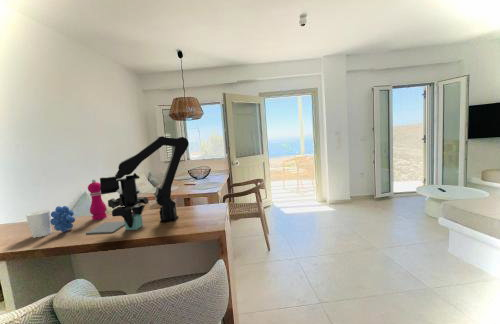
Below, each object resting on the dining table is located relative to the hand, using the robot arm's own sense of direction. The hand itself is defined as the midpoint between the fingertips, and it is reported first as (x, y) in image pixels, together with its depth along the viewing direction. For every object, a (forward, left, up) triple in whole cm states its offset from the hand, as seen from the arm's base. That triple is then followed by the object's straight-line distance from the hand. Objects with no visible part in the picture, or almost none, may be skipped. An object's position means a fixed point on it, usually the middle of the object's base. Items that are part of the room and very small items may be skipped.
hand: (134, 225), depth 108 cm
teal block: (0, 0, -1) cm, 1 cm away
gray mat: (+13, -1, -1) cm, 13 cm away
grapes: (+31, +1, -1) cm, 31 cm away
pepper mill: (+28, -16, -1) cm, 32 cm away
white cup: (+41, +3, -1) cm, 41 cm away
